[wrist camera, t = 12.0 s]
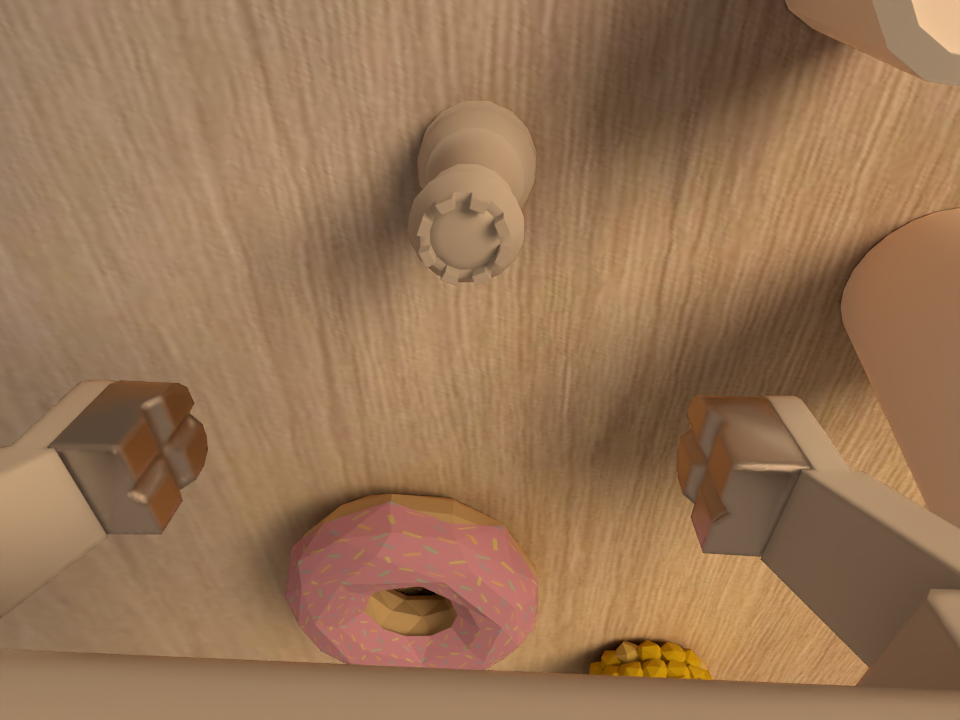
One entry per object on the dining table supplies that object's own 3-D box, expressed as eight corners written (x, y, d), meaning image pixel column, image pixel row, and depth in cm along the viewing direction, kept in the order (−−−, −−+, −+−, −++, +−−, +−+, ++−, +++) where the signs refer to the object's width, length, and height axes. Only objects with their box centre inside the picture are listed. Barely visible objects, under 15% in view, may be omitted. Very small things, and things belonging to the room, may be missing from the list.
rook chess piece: (437, 226, 23) (408, 328, 16) (405, 112, 20) (355, 178, 14) (545, 204, 22) (559, 302, 15) (525, 83, 20) (533, 138, 13)
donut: (585, 530, 33) (595, 607, 29) (472, 642, 41) (468, 715, 37) (343, 437, 30) (316, 511, 26) (272, 579, 38) (242, 653, 34)
